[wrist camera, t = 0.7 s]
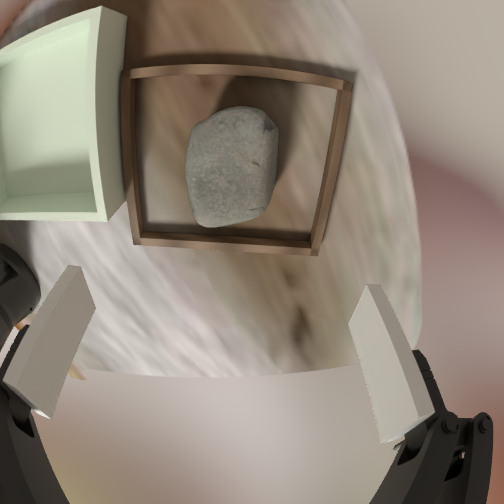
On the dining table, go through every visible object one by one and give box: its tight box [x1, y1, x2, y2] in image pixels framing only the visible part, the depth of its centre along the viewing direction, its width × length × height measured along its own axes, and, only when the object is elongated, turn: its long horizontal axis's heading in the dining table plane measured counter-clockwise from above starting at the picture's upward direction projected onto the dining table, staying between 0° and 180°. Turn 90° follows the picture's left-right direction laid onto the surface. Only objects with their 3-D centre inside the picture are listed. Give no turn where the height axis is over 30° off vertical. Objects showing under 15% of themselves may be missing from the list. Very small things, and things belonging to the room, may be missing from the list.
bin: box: [0, 6, 128, 222], centre depth 20 cm, size 22×21×6 cm
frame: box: [121, 64, 353, 256], centre depth 26 cm, size 22×20×2 cm
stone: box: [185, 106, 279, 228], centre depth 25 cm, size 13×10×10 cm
